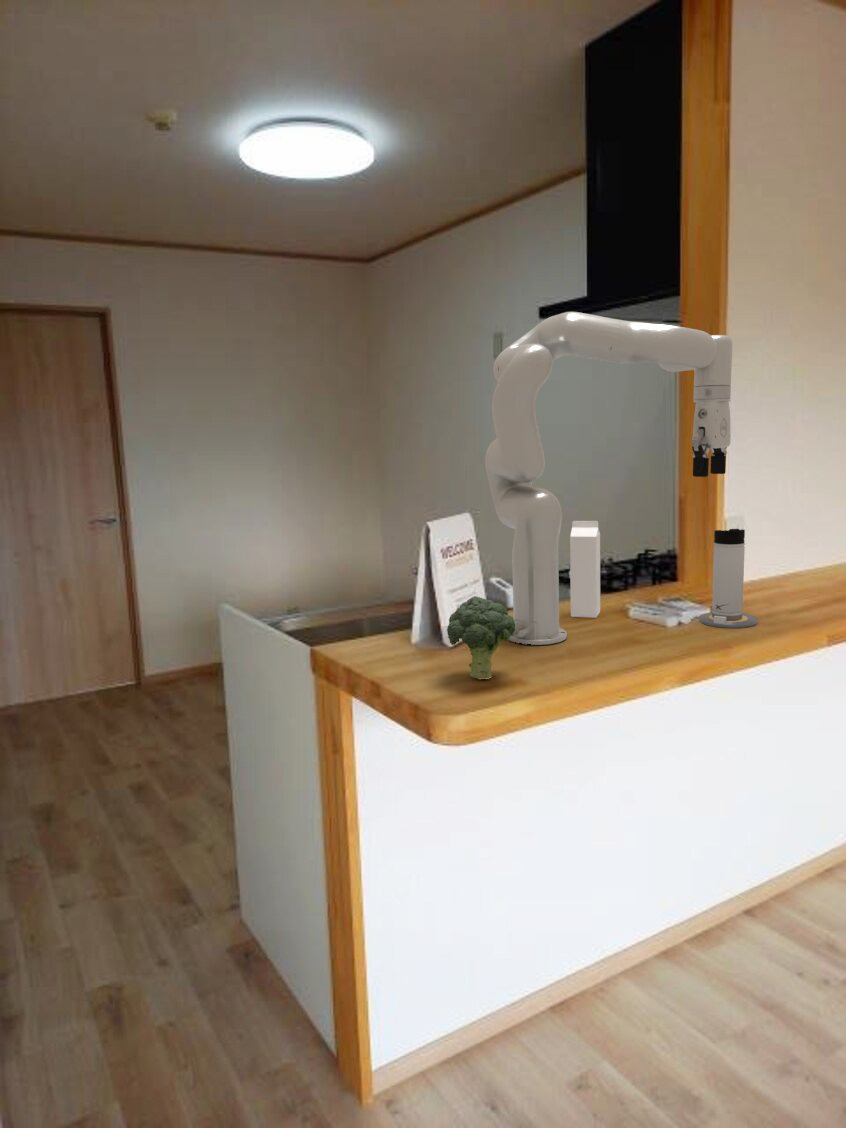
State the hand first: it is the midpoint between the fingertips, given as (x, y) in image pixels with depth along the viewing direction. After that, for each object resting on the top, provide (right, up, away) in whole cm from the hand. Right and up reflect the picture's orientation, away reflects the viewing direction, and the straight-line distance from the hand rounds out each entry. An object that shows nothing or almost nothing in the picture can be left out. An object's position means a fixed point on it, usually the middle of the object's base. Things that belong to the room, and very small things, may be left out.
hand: (709, 475), depth 183 cm
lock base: (+5, -32, +2) cm, 32 cm away
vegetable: (-52, -40, -32) cm, 73 cm away
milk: (-24, -31, +13) cm, 42 cm away
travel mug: (+4, -31, +1) cm, 32 cm away
